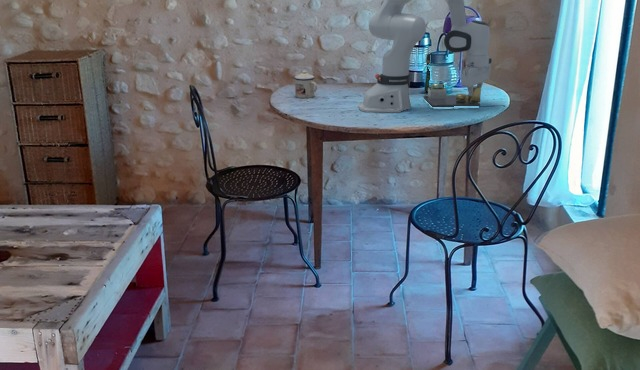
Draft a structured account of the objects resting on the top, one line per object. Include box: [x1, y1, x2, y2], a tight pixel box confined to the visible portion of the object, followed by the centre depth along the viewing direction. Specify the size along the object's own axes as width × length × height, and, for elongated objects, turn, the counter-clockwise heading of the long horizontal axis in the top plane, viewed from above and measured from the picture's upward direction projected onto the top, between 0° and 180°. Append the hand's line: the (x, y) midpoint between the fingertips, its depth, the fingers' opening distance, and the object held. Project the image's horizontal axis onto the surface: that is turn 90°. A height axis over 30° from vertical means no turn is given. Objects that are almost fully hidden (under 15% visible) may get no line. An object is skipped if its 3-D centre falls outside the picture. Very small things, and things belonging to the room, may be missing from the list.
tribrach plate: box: [423, 84, 481, 107], centre depth 281 cm, size 20×18×8 cm
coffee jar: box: [424, 52, 432, 92], centre depth 302 cm, size 10×8×19 cm
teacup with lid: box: [294, 70, 318, 99], centre depth 297 cm, size 12×9×12 cm
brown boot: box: [455, 85, 482, 104], centre depth 276 cm, size 11×5×6 cm, turn 49°
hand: (474, 94), depth 275 cm, fingers open, 5 cm apart
